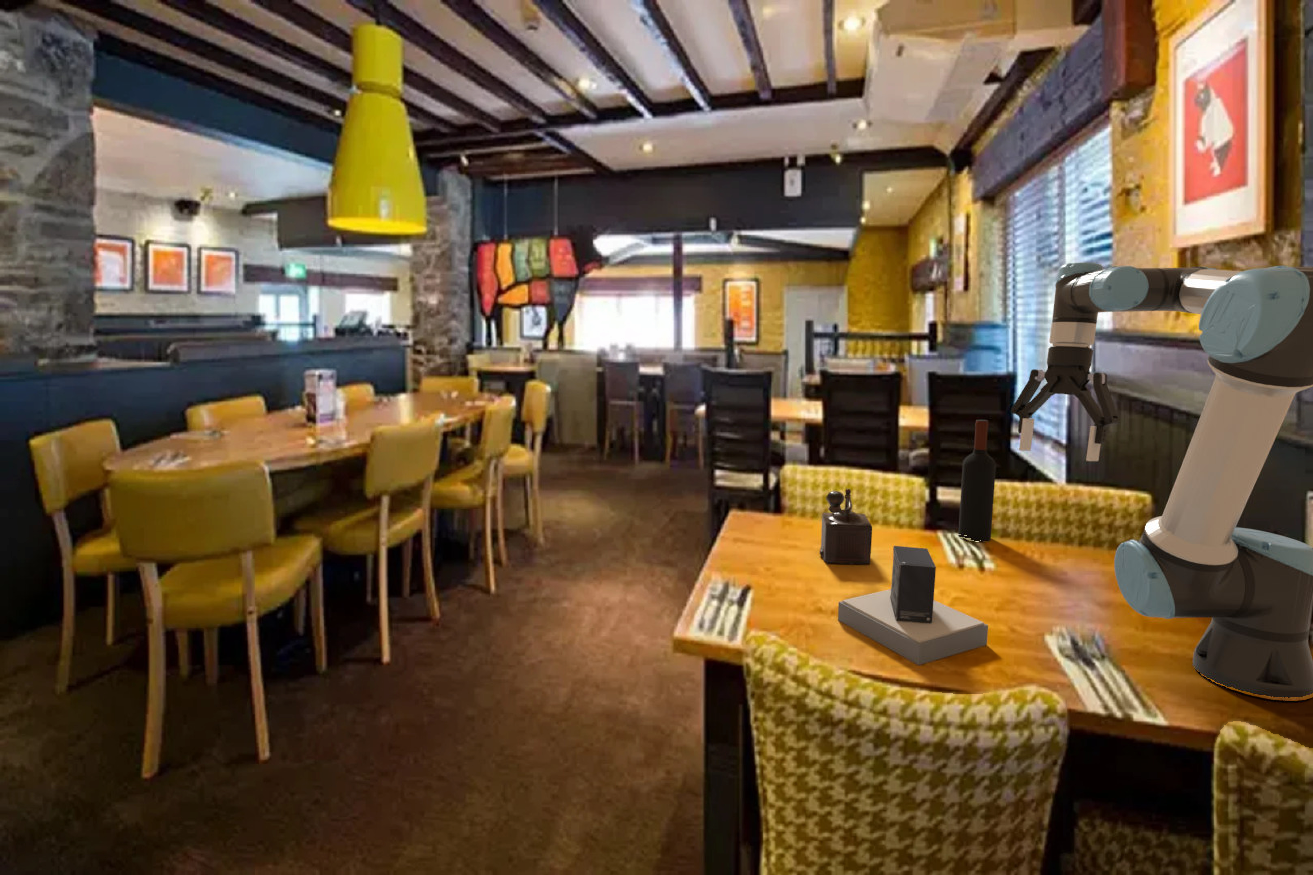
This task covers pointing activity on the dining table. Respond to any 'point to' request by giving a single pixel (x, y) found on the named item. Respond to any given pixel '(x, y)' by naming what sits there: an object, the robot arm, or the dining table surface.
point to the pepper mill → (845, 533)
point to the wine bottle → (977, 489)
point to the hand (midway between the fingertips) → (1057, 455)
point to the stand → (913, 628)
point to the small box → (912, 584)
